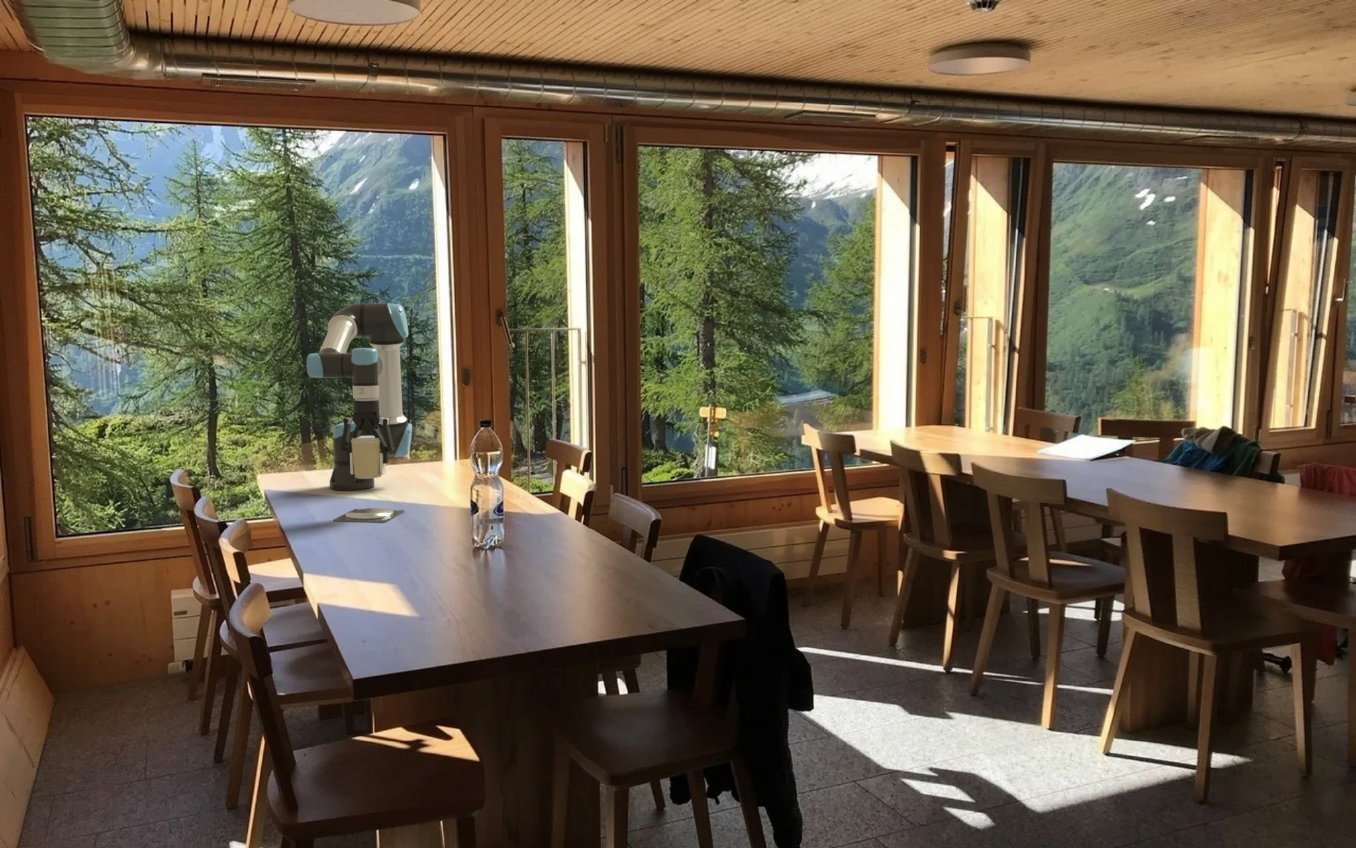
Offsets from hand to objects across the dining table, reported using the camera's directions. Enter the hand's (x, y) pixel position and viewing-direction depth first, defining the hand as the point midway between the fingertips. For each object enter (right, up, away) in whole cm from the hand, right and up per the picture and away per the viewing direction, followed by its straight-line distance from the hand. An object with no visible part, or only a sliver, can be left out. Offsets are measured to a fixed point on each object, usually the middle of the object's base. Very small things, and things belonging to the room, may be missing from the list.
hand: (368, 473), depth 317 cm
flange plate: (0, -13, +2) cm, 13 cm away
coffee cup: (0, -1, 0) cm, 1 cm away
